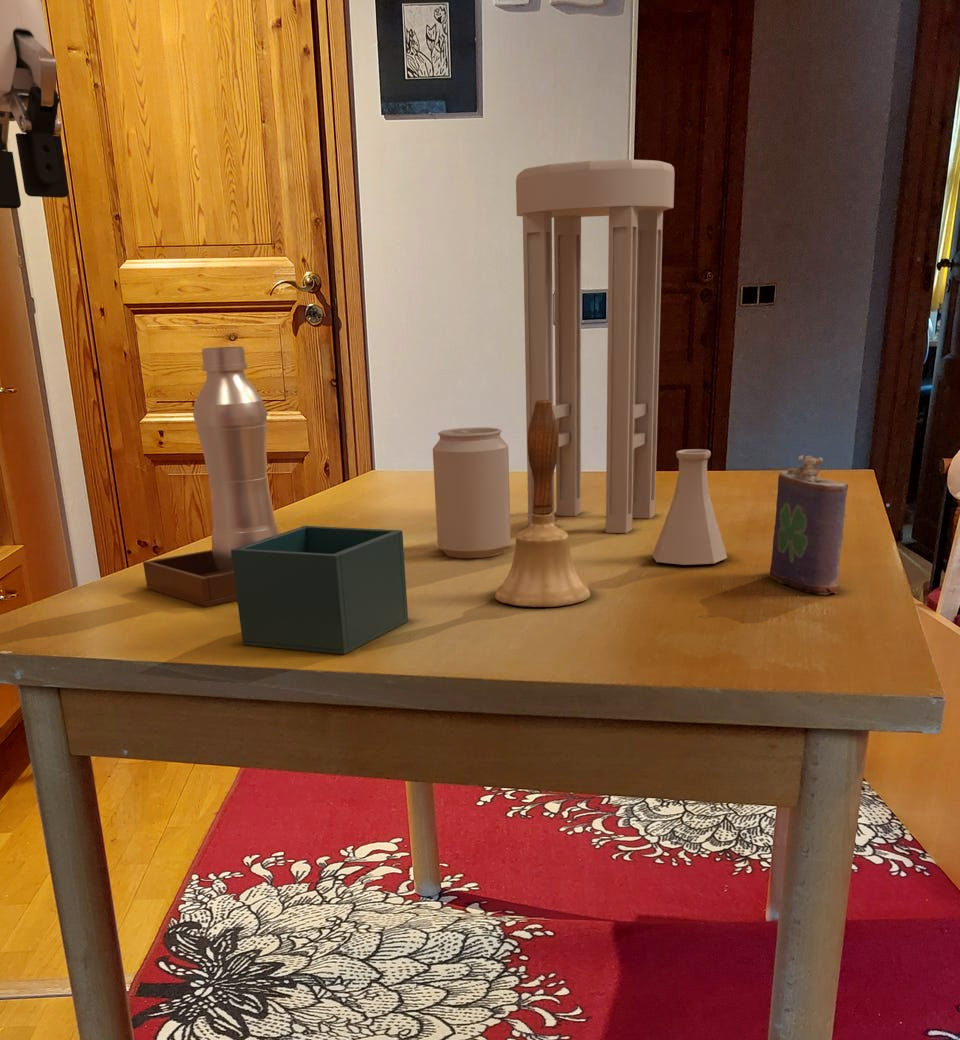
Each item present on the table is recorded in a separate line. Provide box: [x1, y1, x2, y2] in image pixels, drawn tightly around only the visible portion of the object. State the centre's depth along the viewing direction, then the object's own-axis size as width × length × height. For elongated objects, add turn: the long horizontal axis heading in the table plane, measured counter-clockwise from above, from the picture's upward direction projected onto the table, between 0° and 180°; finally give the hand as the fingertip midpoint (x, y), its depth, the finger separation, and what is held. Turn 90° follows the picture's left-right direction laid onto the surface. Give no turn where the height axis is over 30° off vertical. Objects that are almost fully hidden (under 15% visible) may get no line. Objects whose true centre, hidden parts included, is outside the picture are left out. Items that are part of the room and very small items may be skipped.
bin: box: [231, 525, 409, 655], centre depth 92 cm, size 10×9×7 cm
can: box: [432, 427, 512, 559], centre depth 117 cm, size 8×8×12 cm
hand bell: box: [494, 400, 591, 608], centre depth 98 cm, size 8×8×16 cm
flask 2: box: [769, 455, 849, 596], centre depth 100 cm, size 9×3×11 cm, turn 16°
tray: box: [142, 549, 237, 608], centre depth 111 cm, size 16×11×2 cm
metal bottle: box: [192, 346, 281, 573], centre depth 107 cm, size 6×7×20 cm
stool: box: [515, 158, 676, 534], centre depth 126 cm, size 16×16×35 cm
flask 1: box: [651, 448, 728, 566], centre depth 111 cm, size 7×7×10 cm
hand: (23, 202), depth 92 cm, fingers open, 9 cm apart
